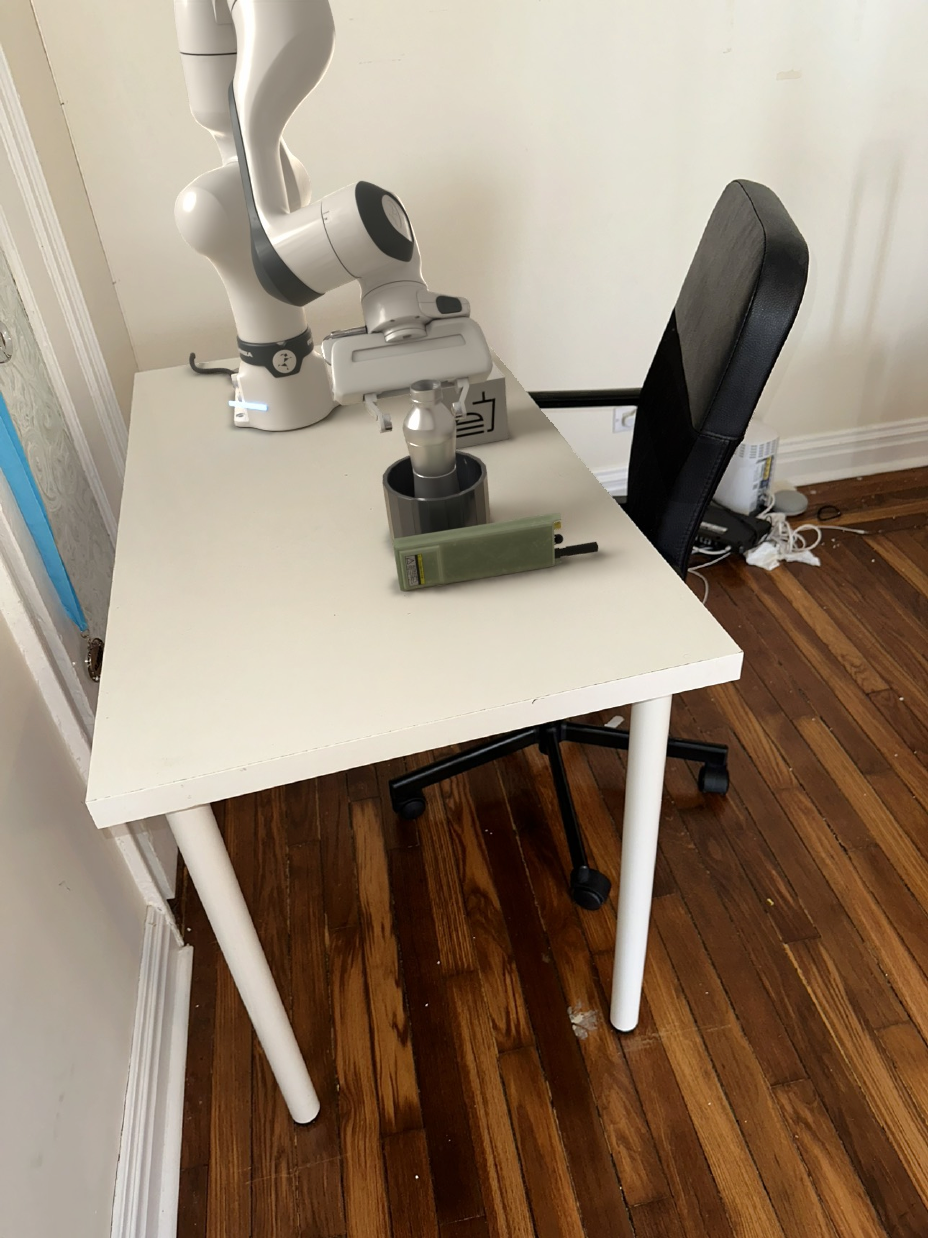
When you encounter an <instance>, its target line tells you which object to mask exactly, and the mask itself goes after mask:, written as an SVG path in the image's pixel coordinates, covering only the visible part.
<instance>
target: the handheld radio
mask: <svg viewBox="0 0 928 1238" xmlns="http://www.w3.org/2000/svg"><path fill="white" fill-rule="evenodd" d="M562 519H563V517H562V515H561V513H560V512H555V513H546V514H540V515H534V516H528V517H522V518H515V519H508V520H503V521H496V522H491V523H490V524H484V525H477V526H471V527H465V528H459V529H452V530H446V531H440V532H433V533H427V534H421V535H415V536H408V537H402V538H396V539H392V541H393V544H392V546H393V552H394V560H395V567H396V574H397V581H398V586H399V590H400V591H404V592H407V591H411V590H418V589H423V588H429V587H436V586H441V585H448V584H453V583H454V584H455V583H460V582H461V583H462V582H466V581H472V580H478V579H479V580H480V579H484V578H490V577H496V576H503V575H509V574H514V573H520V572H528V571H533V570H539V569H544V568H552V567H554V566H555V565H559V564H562V563H563V561H562V558H563V557H571V556H579V555H585V554H593V553H598V552H599V544H598V542H597V541H590V542H585V543H578V544H573V545H572V544H571V545H566V546H565V547H561V548H560V547H555V546H557V545H561V544H562V543H563V542H564V537H563V535H562V534H561V533H557V534H555V530H561V529H562V528H563V527H562V522H561V520H562ZM392 541H391V542H392Z"/></svg>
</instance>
